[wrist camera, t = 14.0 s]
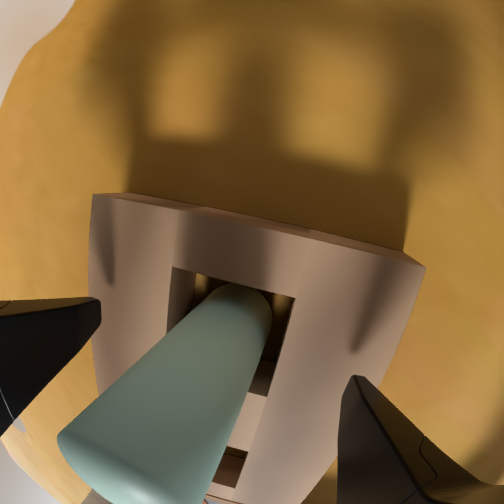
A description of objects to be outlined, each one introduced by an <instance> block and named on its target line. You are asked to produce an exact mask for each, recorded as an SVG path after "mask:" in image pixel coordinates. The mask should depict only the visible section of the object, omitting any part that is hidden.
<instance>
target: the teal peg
mask: <svg viewBox="0 0 504 504" xmlns="http://www.w3.org/2000/svg"><path fill="white" fill-rule="evenodd" d="M271 326H272V311H271V308H270V306H269V303H268V302H267V300H266V299H265V297H264V296H263V295H262V294H261V293H260V292H258V291H257V290H256V289H254V288H252V287H249V286H245V285H241V284H237V283H229V284H225V285H222V286H220V287H218V288H217V289H215V290H214V291H213V292H212V293H211V294H210V295H208V296H207V297H206V298H205V299H204V300H203V301H202V302H201V303H200V304H199V305H198V306H197V307H195V308H194V309H193V310H192V311H191V312H190V313H189V314H188V315H187V316H186V317H185V318H184V319H182V320H181V321H180V322H179V323H178V324H177V325H176V326H175V327H174V328H173V329H172V330H171V331H169V332H168V333H167V334H166V335H165V336H164V337H163V338H162V339H161V340H160V341H159V342H158V343H156V344H155V345H154V346H153V347H152V348H151V349H150V350H149V351H148V352H147V353H146V354H145V355H143V356H142V357H141V358H140V359H139V360H138V361H137V362H136V363H135V364H134V365H133V366H131V367H130V368H129V369H128V370H127V371H126V372H125V373H124V374H123V375H122V376H121V377H120V378H118V379H117V380H116V381H115V382H114V383H113V384H112V385H111V386H110V387H109V388H108V389H106V390H105V391H104V392H103V393H102V394H101V395H100V396H99V397H98V398H97V399H96V400H94V401H93V402H92V403H91V404H90V405H89V406H88V407H87V408H86V409H85V410H84V411H82V412H81V413H80V414H79V415H78V416H77V417H76V418H75V419H74V420H73V421H72V422H70V423H69V424H68V425H67V426H66V427H65V428H64V429H63V430H62V431H61V432H60V433H59V434H58V436H57V443H58V446H59V449H60V451H61V453H62V455H63V456H64V458H65V459H66V461H67V462H68V464H69V465H70V466H71V468H72V469H73V470H74V471H75V472H76V473H77V474H78V476H79V477H80V478H81V479H82V480H83V481H84V482H86V483H87V484H88V485H89V486H90V487H91V488H92V489H93V490H95V491H96V492H97V493H98V494H100V495H101V496H102V497H104V498H105V499H107V500H108V501H110V502H111V503H113V504H202V502H203V500H204V498H205V495H206V493H207V491H208V489H209V486H210V484H211V482H212V479H213V477H214V475H215V472H216V470H217V468H218V465H219V463H220V461H221V458H222V456H223V453H224V451H225V449H226V446H227V444H228V441H229V439H230V436H231V434H232V431H233V429H234V426H235V424H236V421H237V419H238V416H239V413H240V411H241V408H242V406H243V403H244V400H245V398H246V395H247V393H248V390H249V387H250V385H251V382H252V379H253V377H254V374H255V371H256V368H257V366H258V363H259V360H260V357H261V355H262V352H263V349H264V346H265V343H266V340H267V338H268V335H269V332H270V329H271Z"/></svg>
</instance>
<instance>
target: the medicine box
mask: <svg viewBox="0 0 504 504" xmlns="http://www.w3.org/2000/svg"><path fill="white" fill-rule="evenodd" d="M81 504H113V503H111V502H110V501H108V500H107V499H105V498H104V497H102V496H101V495H100V494H98V493H97V492H96V491H95V490H93V489H92V490H91V492H90V493H89V494H88V496H87V497H86V498H85V500H84V501H83V502H82V503H81Z"/></svg>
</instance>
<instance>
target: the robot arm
mask: <svg viewBox="0 0 504 504" xmlns="http://www.w3.org/2000/svg"><path fill="white" fill-rule="evenodd" d="M101 322H102V312H101V302H100V300H98V299H96V298H94V297H77V298H58V299H37V300H13V301H11V300H9V301H0V437H1V436H2V435H3V433H4V432H5V431H6V430H7V429H8V428H9V426H10V425H11V424H12V423H13V420H15V419H16V418H17V417H18V416H19V415H20V414H21V413H22V411H23V410H24V409H25V408H26V407H27V406H28V405H29V404H30V403H31V402H32V400H33V399H34V398H35V397H36V396H37V395H38V394H39V393H40V392H41V391H42V390H43V389H44V387H45V386H46V385H47V384H48V383H49V382H50V381H51V380H52V379H53V378H54V377H55V376H56V375H57V374H58V373H59V372H60V371H61V370H62V369H63V368H64V367H65V366H66V365H67V364H68V362H69V361H70V360H71V359H72V358H73V357H74V356H75V355H76V354H77V353H78V352H79V351H80V350H81V349H82V347H83V346H84V345H85V344H86V342H87V341H88V340H89V339H90V337H91V336H92V335H93V334H94V333H95V331H96V330H97V329H98V328H99V326H100V325H101ZM337 447H338V476H337V504H504V485H490V484H486V483H484V482H482V481H480V480H478V479H477V478H476V477H474V476H473V475H472V474H470V473H469V472H468V471H466V470H465V469H464V468H462V467H461V466H460V465H459V464H457V463H456V462H455V461H453V460H452V459H451V458H450V457H449V456H447V455H446V454H445V453H444V452H442V451H441V450H440V449H439V448H438V447H437V446H436V445H435V444H434V443H433V442H432V441H430V440H429V439H428V438H427V437H426V436H424V434H423V433H422V432H421V431H420V430H419V429H418V428H417V427H416V426H415V425H414V424H413V423H412V422H411V421H410V420H409V419H408V418H407V417H406V416H405V415H404V414H403V413H402V412H401V411H399V410H398V409H397V408H396V407H395V406H394V405H393V404H392V403H391V402H390V401H389V400H388V399H387V398H386V397H385V396H384V395H383V394H382V393H381V392H380V391H379V390H378V389H377V388H376V387H375V386H374V385H373V384H372V383H371V382H370V381H369V380H368V379H367V378H366V377H365V376H360V375H352V376H351V377H350V379H349V382H348V384H347V386H346V388H345V390H344V392H343V395H342V398H341V408H340V418H339V428H338V441H337Z"/></svg>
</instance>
